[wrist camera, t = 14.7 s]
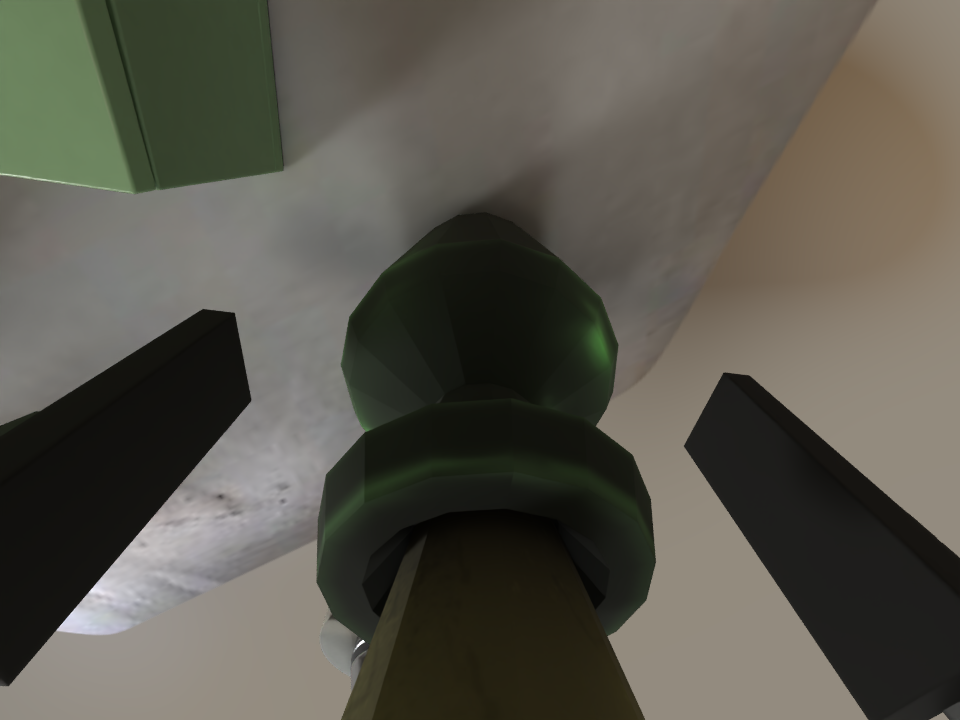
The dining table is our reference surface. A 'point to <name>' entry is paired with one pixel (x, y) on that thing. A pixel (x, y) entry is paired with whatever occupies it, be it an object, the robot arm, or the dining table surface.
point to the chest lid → (67, 98)
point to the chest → (200, 87)
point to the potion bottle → (484, 489)
